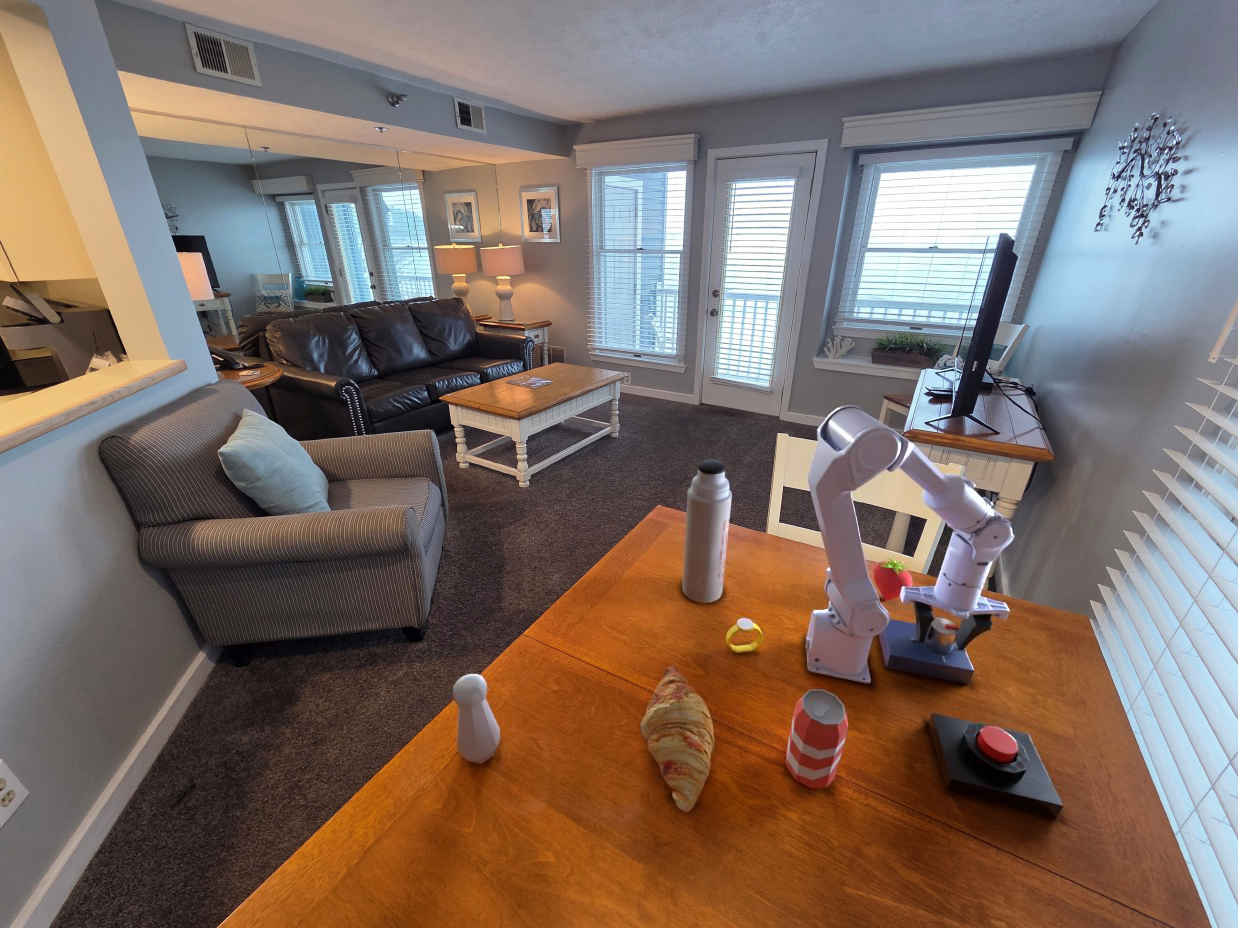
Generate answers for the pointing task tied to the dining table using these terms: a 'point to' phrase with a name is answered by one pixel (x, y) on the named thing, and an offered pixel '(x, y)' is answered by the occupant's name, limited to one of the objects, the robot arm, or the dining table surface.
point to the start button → (997, 744)
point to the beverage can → (816, 738)
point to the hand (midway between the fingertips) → (939, 641)
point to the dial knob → (941, 635)
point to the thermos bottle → (706, 532)
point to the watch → (744, 626)
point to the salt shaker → (475, 720)
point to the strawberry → (891, 578)
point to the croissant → (679, 737)
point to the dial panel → (922, 655)
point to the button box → (992, 767)
